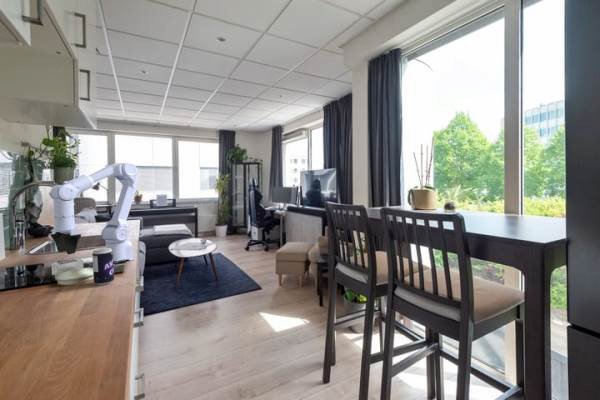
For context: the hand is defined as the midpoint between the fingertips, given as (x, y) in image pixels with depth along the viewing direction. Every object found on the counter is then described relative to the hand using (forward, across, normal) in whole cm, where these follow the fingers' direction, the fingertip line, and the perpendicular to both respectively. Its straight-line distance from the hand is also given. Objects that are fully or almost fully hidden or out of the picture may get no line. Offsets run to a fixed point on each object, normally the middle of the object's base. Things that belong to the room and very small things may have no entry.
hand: (66, 252), depth 105 cm
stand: (+8, +11, -1) cm, 14 cm away
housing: (+9, 0, 0) cm, 9 cm away
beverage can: (+9, +23, +2) cm, 24 cm away
